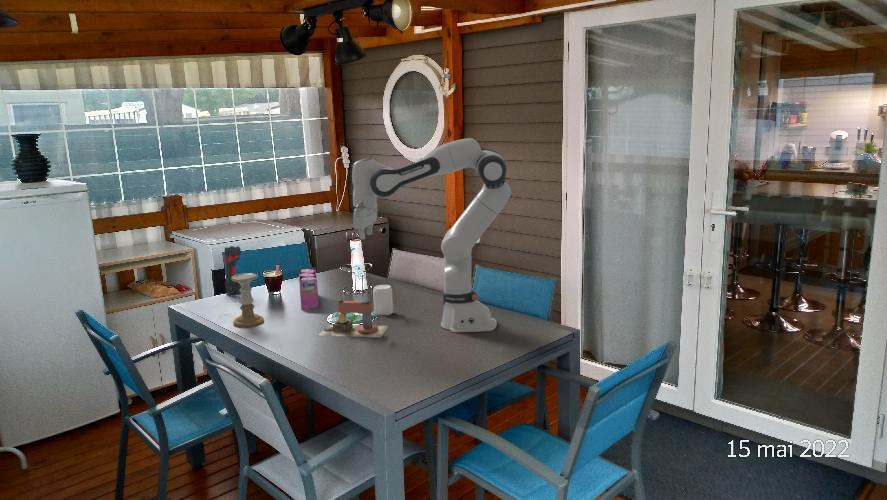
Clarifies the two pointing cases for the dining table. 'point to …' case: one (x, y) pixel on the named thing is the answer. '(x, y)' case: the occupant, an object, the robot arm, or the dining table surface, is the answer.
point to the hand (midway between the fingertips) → (366, 236)
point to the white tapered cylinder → (383, 300)
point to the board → (355, 332)
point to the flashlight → (232, 269)
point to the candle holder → (246, 302)
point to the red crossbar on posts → (359, 307)
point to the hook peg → (342, 318)
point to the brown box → (342, 327)
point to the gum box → (308, 288)
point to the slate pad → (328, 329)
